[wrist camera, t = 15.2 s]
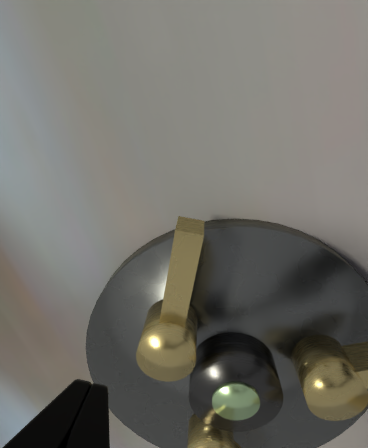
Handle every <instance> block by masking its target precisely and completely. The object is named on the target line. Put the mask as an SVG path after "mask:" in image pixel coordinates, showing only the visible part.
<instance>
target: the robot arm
mask: <svg viewBox="0 0 368 448" xmlns="http://www.w3.org/2000/svg"><path fill="white" fill-rule="evenodd" d="M3 448H110V444H109V407H108V387H107V386H106V385H101V384H97V383H93V384H92V385H91V382H89V381H84V380H80V379H77V380H75V381H73V382H72V383H71V384H70V385H69V386H68V387H67V388H66V389H65V390H64V391H63V392H61V393H60V394H59V395H58V396H57V397H56V398H55V399H54V400H53V401H52V402H51V403H50V404H49V405H48V406H46V407H45V408H44V409H43V410H42V411H41V412H40V413H39V414H38V415H37V416H36V417H35V418H34V419H33V420H32V421H30V422H29V423H28V424H27V425H26V426H25V427H24V428H23V429H22V430H21V431H20V432H19V433H18V434H17V435H16V436H14V437H13V438H12V439H11V440H10V441H9V442H8V443H7V444H6V445H5V446H4V447H3Z"/></svg>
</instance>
